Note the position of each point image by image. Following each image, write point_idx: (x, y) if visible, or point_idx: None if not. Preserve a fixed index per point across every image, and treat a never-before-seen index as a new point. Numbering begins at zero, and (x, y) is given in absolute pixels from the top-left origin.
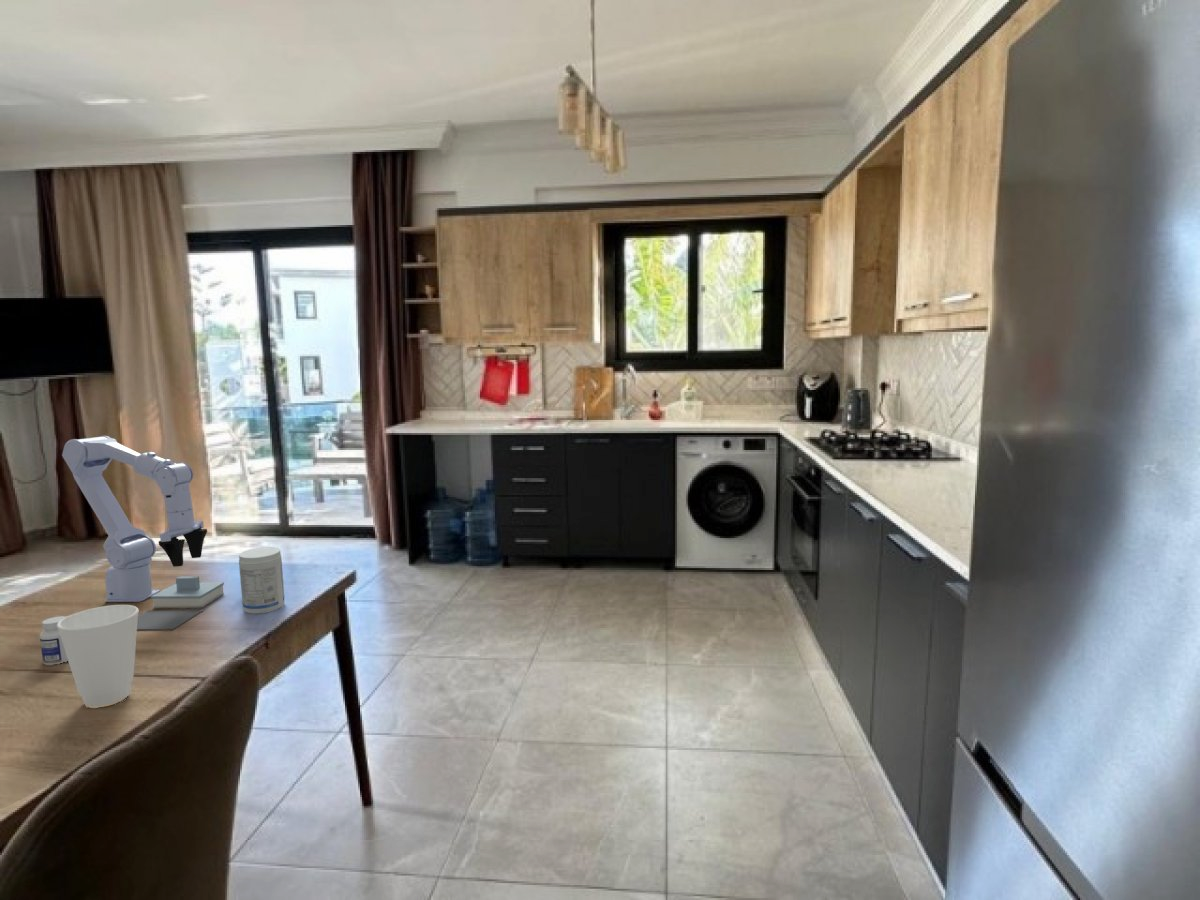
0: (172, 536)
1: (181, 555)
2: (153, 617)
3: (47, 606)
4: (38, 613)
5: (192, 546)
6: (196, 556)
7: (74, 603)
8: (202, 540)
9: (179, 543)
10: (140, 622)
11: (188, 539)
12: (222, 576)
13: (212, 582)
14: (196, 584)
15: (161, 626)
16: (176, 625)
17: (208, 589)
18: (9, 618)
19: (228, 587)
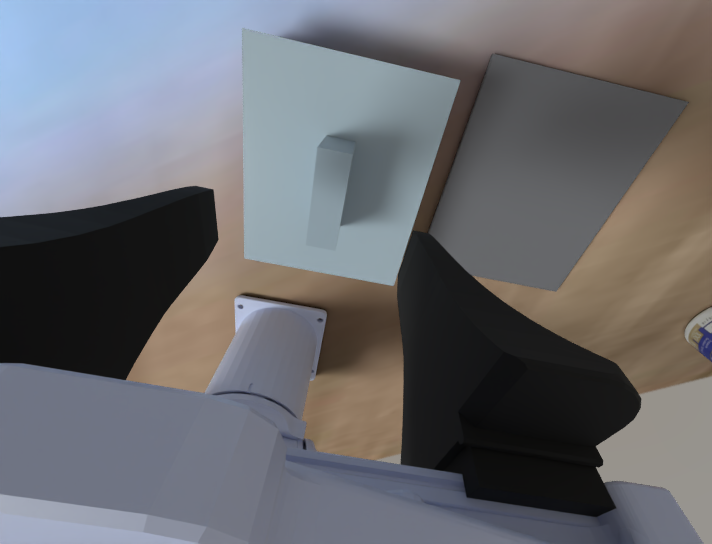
0: (507, 523)
1: (452, 268)
2: (499, 225)
3: (322, 441)
4: (360, 439)
5: (163, 279)
6: (211, 214)
7: (311, 415)
8: (67, 220)
9: (613, 362)
10: (531, 245)
11: (122, 351)
12: (42, 149)
13: (243, 102)
14: (348, 145)
15: (622, 161)
16: (649, 102)
17: (357, 76)
18: (376, 459)
19: (171, 55)
